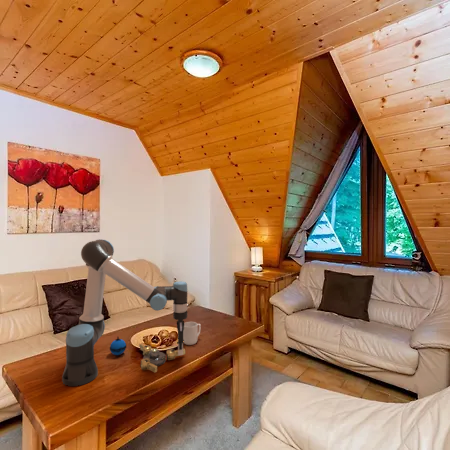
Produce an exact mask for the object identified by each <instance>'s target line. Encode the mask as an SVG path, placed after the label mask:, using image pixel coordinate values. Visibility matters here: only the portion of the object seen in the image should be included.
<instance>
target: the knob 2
mask: <svg viewBox="0 0 450 450" xmlns="http://www.w3.org/2000/svg"><path fill="white" fill-rule="evenodd" d="M140 369H141V371H147V370H149V371H151V372H152V373H157V372H158V366H156V365H154V364H151V363H150V359H148V358H145V359H143V358H142V359H141V360H140Z"/></svg>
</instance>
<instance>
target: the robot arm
mask: <svg viewBox="0 0 450 450" xmlns="http://www.w3.org/2000/svg"><path fill="white" fill-rule="evenodd" d="M114 252H115V250H114V246H113V244H112V243H111V241H109V240H106V239H99V238H98V239H95V240H91V241H88V242H87V243H85V244H84V245H83V246H82V248H81V252H80V256H81V259H82V260H83V262H84V263H85V266H86V267H87V268H88V270H87V280H86V288H85V294H84V295H85V296H84V303H83V304H84V305H83V311H82V312H83V313H82V314H81V315H80V316H79V319H78V324H77V325H75V326H72V327H71V328H69V330H67V331H66V335H65V345H66V346H65V351H66V352H65V356H66V357H65V359H66V362H65V367H64V371H63V373H62V376H61V383H62V382H63V383H62V384H63V385H64V384H65V385H64V386H66V385H68V386H67V387H79V386H83V385H86V384H88V383H91V382H92V381H94V380H95V379H96V378H97V377H98V374H99V369H98V366H97V363H96V360H95V352H94V351H95V345H96V344H97V342H98V340H99V339H100V338H101V337H102V336H103V334H104V332H105V328H106V324H105V321H104V320H105V319H104V317H105V316H104V315H103V314H102V310H103V301H104V292H105V284H106V276H108V277H109V278H111V279H112V280H114V281H115V282H116V283H118V284H119V285H121V286H122V287H124V288H125V289H127V290H128V291H130V292H131V293H133V294H135V295H136V296H137V297H139V298H141V299H142V300H144V302H145V301H146V303H148V304H149V306H150V308H151V309H152V310H154V311H161V310H163V309H164V308H165V307H166V305H167V302H169V301H172V304H173V305H172V307H173V308H172V309H173V313H172V314H173V317H172V318H173V319H174V320H175V321H176V328H177V341H176V344H177V350H178V355H180V356H184V355H183V349H184V342H183V341H184V340H183V331H184V323H185V321H184V320H186V319H188V306H189V304H188V284H187V282H186V281H175V282H173V284H172V285H168V286H166V285H165V286H164V285H162V286H159V285H157V286H153V285H152V284H150V283H149V282H148V281H146V280H144V279H143V278H141V277H140V276H139V275H138V274H135V272H133V271H131V270H130V269H128V268H127V267H125V266H124V265H123V264H121V263H119V262H118V261H116V260H115V259H114V258H113V255H114ZM78 385H79V386H78Z"/></svg>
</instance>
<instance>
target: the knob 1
mask: <svg viewBox="0 0 450 450" xmlns="http://www.w3.org/2000/svg"><path fill="white" fill-rule="evenodd" d="M138 346H139V347H140V348H141V349H140V351H142V355H143V357H144V356H145V355H146V354H148V353H150V351H151V350H152V345H145V344H143V343H139V345H138Z"/></svg>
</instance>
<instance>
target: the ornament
mask: <svg viewBox="0 0 450 450" xmlns="http://www.w3.org/2000/svg"><path fill="white" fill-rule="evenodd" d="M110 343H111V344H110V346H109V351H110V353H111V354H112V355H114V356H120V355H122V354H124V352H125V351H126V349H127V343H126V341H125V340H124V339H122V338H119V336H117V338H116V339H114V340H113V341H112V342H110Z"/></svg>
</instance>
